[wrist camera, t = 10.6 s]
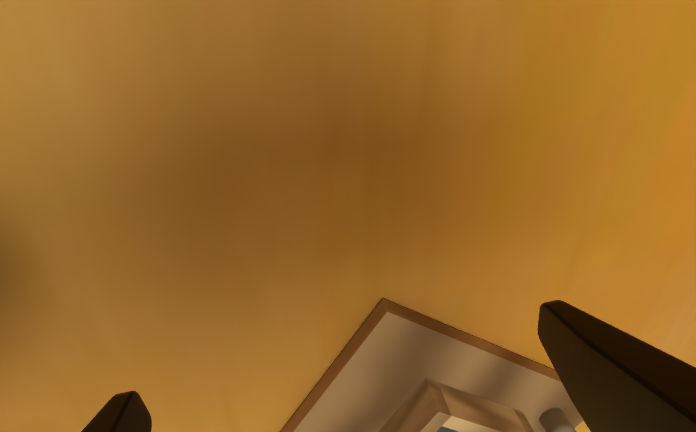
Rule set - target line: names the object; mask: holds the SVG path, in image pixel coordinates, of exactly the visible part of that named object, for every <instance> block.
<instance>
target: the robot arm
mask: <svg viewBox="0 0 696 432" xmlns="http://www.w3.org/2000/svg"><path fill="white" fill-rule="evenodd" d="M538 335H539V339H540V341H541V343H542V345H543V347H544V349H545V351H546V353H547V355H548V357H549V359H550V360H551V362H552V364H553V366H554V368H555V370H556V372H557V374H558V376H559V378H560V380H561V382H562V384H563V386H564V388H565V390H566V392H567V394H568V395H569V397H570V399H571V401H572V403H573V404H574V406H575V407H576V409H577V411H578V412H579V414H580V415H581V417H582V418H583V420H584V422H585V423H586V425H587V426H588V428H589V429H590V431H591V432H696V368H695V367H693V366H691V365H689V364H687V363H685V362H683V361H681V360H679V359H677V358H675V357H673V356H671V355H669V354H667V353H665V352H663V351H661V350H660V349H658V348H656V347H654V346H652V345H650V344H648V343H646V342H644V341H642V340H640V339H638V338H636V337H634V336H632V335H630V334H628V333H626V332H624V331H622V330H620V329H618V328H616V327H614V326H612V325H610V324H608V323H606V322H604V321H602V320H600V319H598V318H596V317H594V316H592V315H590V314H588V313H586V312H584V311H582V310H580V309H578V308H576V307H574V306H572V305H570V304H568V303H566V302H564V301H561V300H555V301H550V302H545V303H543V304H542V305H541V306H540V312H539V321H538ZM151 427H152V421H151V416H150V413H149V411H148V410H147V408H146V406H145V404H144V403H143V401H142V399H141V397H140V395H139V394H138V393H137V392H136V391H129V392H124V393H120V394H116V395H115V396H113V397H112V398H111V399H110V400H109V401H108V402H107V404H106V405H105V406H104V407H103V408H102V409H101V410H100V411H99V412H98V414H97V415H96V416H95V417H94V418H93V419H92V420H91V421H90V423H89V424H88V425H87V426H86V427H85V428H84V429H83V430H82V431H81V432H151Z"/></svg>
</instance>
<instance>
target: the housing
mask: <svg viewBox="0 0 696 432" xmlns="http://www.w3.org/2000/svg"><path fill="white" fill-rule="evenodd" d="M582 421H583V418H582V417H581V415H580V414H579V412H578V411H577V409H576V407H575V406H574V404H573V403H572V401H571V399H570V397H569V395H568V394H567V392H566V390H565V388H564V386H563V384H562V382H561V380H560V378H559V376H558V374H557V372H556V370H554V369H551V368H549V367H546V366H544V365H542V364H539V363H537V362H534V361H532V360H530V359H527V358H525V357H522V356H520V355H518V354H515V353H513V352H510V351H508V350H506V349H503V348H501V347H498V346H496V345H494V344H491V343H489V342H486V341H484V340H482V339H479V338H477V337H474V336H472V335H470V334H467V333H465V332H462V331H460V330H458V329H455V328H453V327H450V326H448V325H446V324H443V323H441V322H438V321H436V320H434V319H431V318H429V317H426V316H424V315H422V314H419V313H417V312H414V311H412V310H410V309H407V308H405V307H402V306H400V305H398V304H395V303H393V302H390V301H388V300H386V299H382V300H381V301H380V302H379V304H378V305H377V306H376V308H375V309H374V310H373V312H372V313H371V314H370V315H369V317H368V318H367V319H366V321H365V322H364V323H363V325H362V326H361V327H360V328H359V330H358V331H357V332H356V334H355V335H354V336H353V338H352V339H351V340H350V342H349V343H348V344H347V345H346V347H345V348H344V349H343V351H342V352H341V353H340V355H339V356H338V357H337V358H336V360H335V361H334V362H333V364H332V365H331V366H330V368H329V369H328V370H327V372H326V373H325V374H324V375H323V377H322V378H321V379H320V381H319V382H318V383H317V385H316V386H315V387H314V388H313V390H312V391H311V392H310V394H309V395H308V396H307V398H306V399H305V400H304V402H303V403H302V404H301V405H300V407H299V408H298V409H297V411H296V412H295V413H294V415H293V416H292V417H291V418H290V420H289V421H288V422H287V424H286V425H285V426H284V428H283V429H282V430H281V432H437V431H438V429H439V428H440V427H441V426H443V427H446V428H449V429H453V430H456V431H459V432H576V430H575V429H574V428H575V427H576V426H577V425H578V424H580V423H581V422H582Z"/></svg>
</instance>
